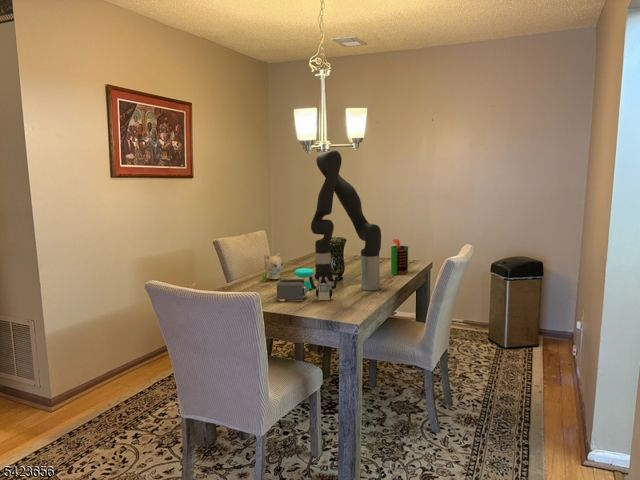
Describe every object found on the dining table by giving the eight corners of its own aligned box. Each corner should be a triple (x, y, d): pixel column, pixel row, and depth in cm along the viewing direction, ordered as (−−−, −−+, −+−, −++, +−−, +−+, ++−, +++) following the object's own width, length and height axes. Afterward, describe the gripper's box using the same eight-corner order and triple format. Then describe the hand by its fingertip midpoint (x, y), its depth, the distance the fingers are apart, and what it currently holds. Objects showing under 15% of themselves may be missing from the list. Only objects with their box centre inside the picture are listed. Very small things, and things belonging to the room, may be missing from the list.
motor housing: (307, 295, 226) (307, 278, 225) (305, 301, 216) (304, 283, 215) (280, 295, 227) (280, 278, 226) (277, 301, 217) (276, 283, 216)
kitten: (267, 283, 253) (266, 256, 251) (257, 280, 261) (256, 254, 259) (289, 279, 263) (288, 253, 260) (279, 276, 270) (278, 251, 268)
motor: (401, 276, 262) (401, 241, 259) (387, 274, 268) (387, 240, 265) (409, 272, 270) (409, 238, 267) (396, 271, 275) (395, 237, 273)
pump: (329, 297, 220) (329, 283, 219) (329, 300, 216) (328, 286, 215) (319, 298, 221) (319, 283, 220) (318, 300, 216) (318, 286, 215)
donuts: (316, 270, 236) (297, 272, 232) (316, 289, 237) (298, 291, 234) (309, 267, 245) (291, 268, 242) (310, 285, 246) (292, 287, 243)
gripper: (339, 260, 219) (339, 295, 221) (308, 260, 220) (310, 295, 222) (338, 263, 211) (339, 299, 214) (307, 263, 213) (308, 299, 215)
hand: (324, 297), depth 218 cm, fingers closed on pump, 5 cm apart
